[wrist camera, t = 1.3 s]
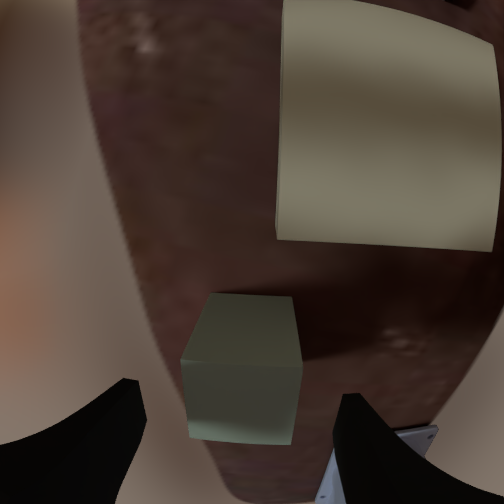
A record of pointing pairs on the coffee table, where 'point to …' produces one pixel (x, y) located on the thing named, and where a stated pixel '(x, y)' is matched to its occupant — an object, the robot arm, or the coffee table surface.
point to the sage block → (243, 370)
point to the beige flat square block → (386, 129)
